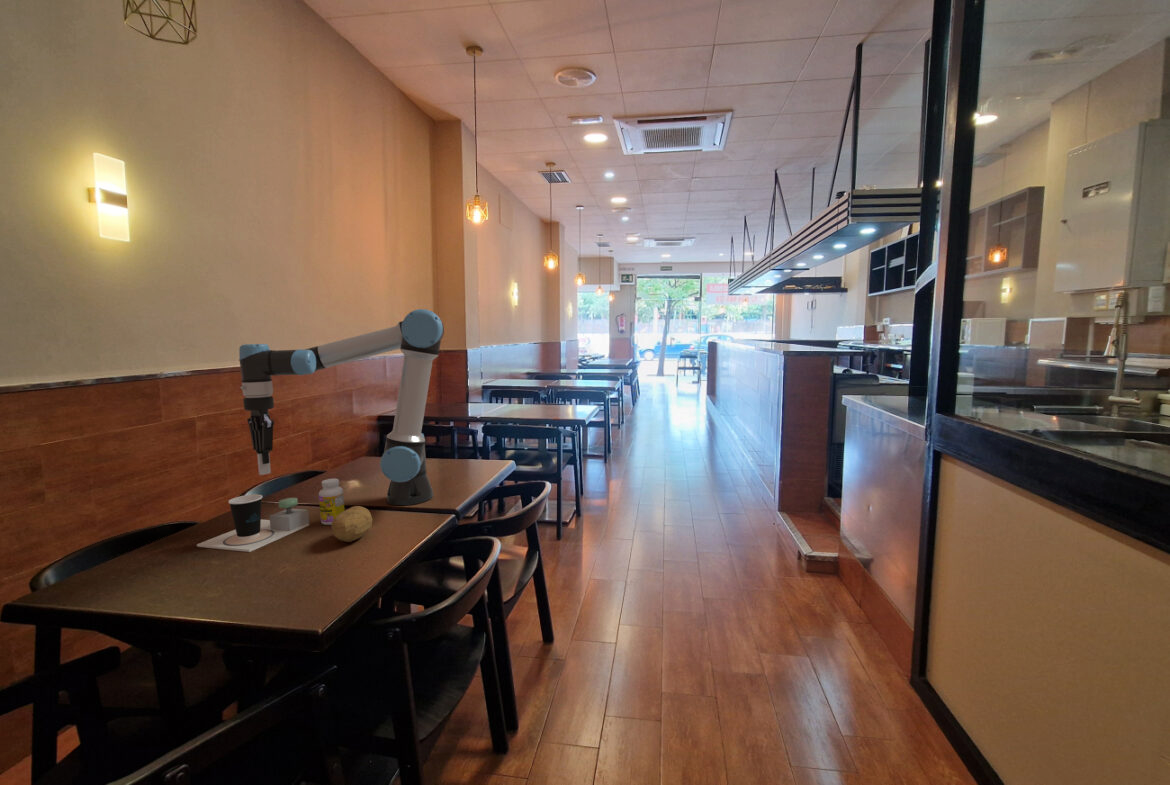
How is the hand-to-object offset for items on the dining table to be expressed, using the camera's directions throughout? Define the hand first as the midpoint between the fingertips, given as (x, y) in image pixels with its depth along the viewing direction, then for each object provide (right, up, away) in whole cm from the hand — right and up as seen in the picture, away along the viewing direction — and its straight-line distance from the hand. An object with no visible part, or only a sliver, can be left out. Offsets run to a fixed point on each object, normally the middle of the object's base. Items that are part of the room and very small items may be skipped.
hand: (265, 473), depth 152 cm
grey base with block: (+3, -16, -8) cm, 18 cm away
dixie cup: (+3, -16, -11) cm, 20 cm away
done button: (+9, -13, -3) cm, 16 cm away
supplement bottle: (+20, -15, +2) cm, 25 cm away
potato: (+32, -16, -13) cm, 39 cm away
